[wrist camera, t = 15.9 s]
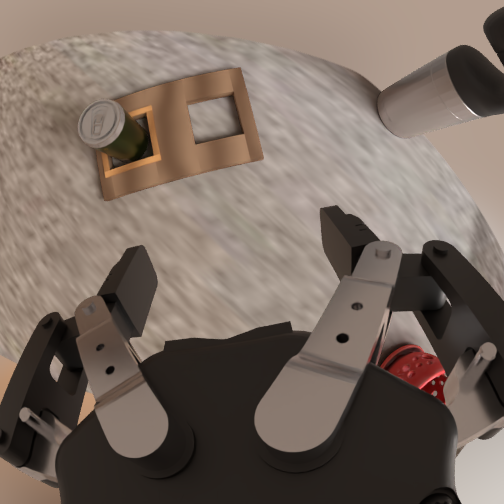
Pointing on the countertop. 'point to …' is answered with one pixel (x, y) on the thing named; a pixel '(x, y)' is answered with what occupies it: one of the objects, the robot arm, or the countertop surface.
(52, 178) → the countertop surface
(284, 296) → the countertop surface
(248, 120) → the socket board
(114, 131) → the beer can
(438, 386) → the plant pot
